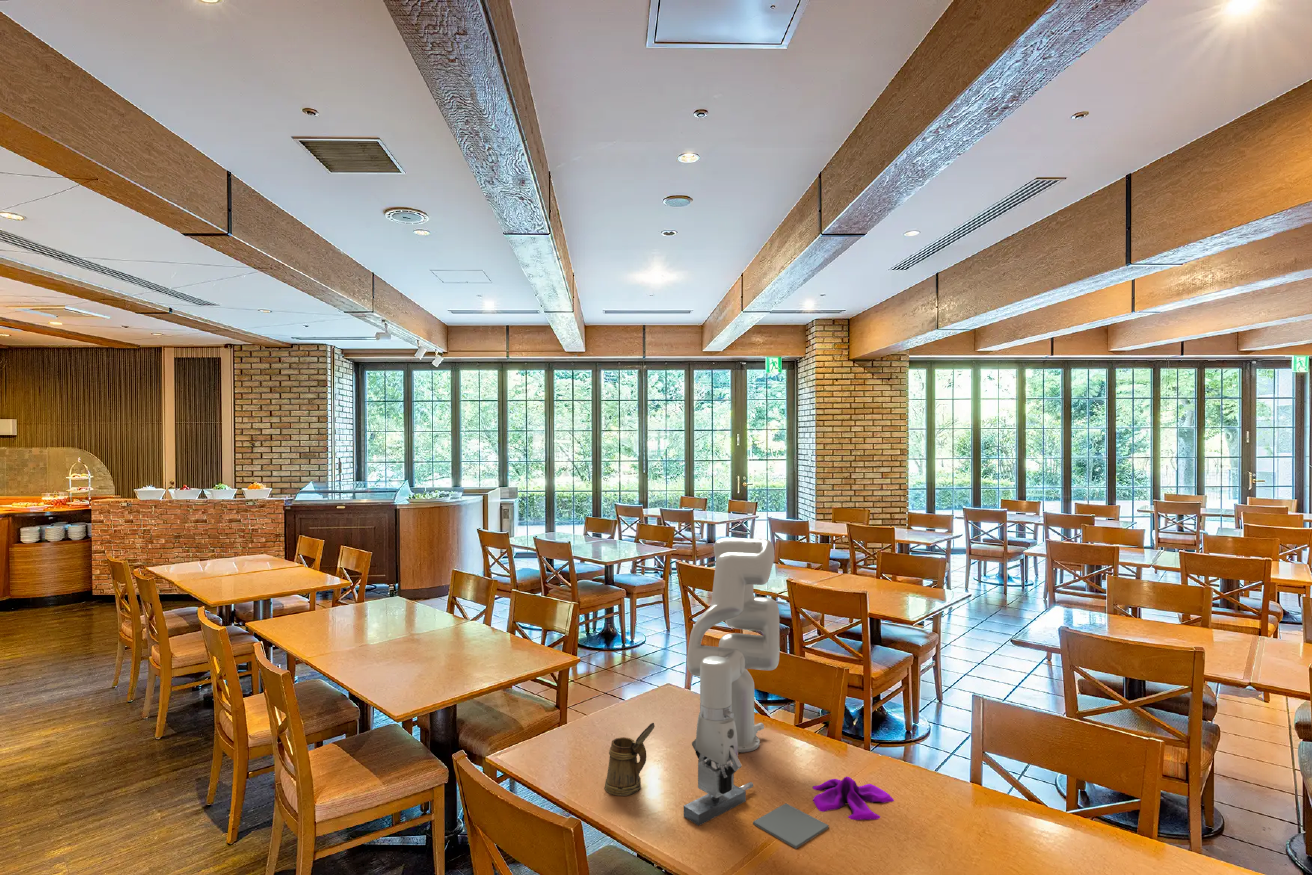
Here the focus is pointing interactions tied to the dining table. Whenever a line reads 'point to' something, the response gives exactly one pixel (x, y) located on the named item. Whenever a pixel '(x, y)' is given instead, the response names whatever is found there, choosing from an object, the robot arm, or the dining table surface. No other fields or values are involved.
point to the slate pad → (791, 825)
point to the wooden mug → (626, 764)
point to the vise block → (715, 803)
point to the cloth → (850, 797)
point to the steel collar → (711, 778)
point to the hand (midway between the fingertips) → (715, 785)
